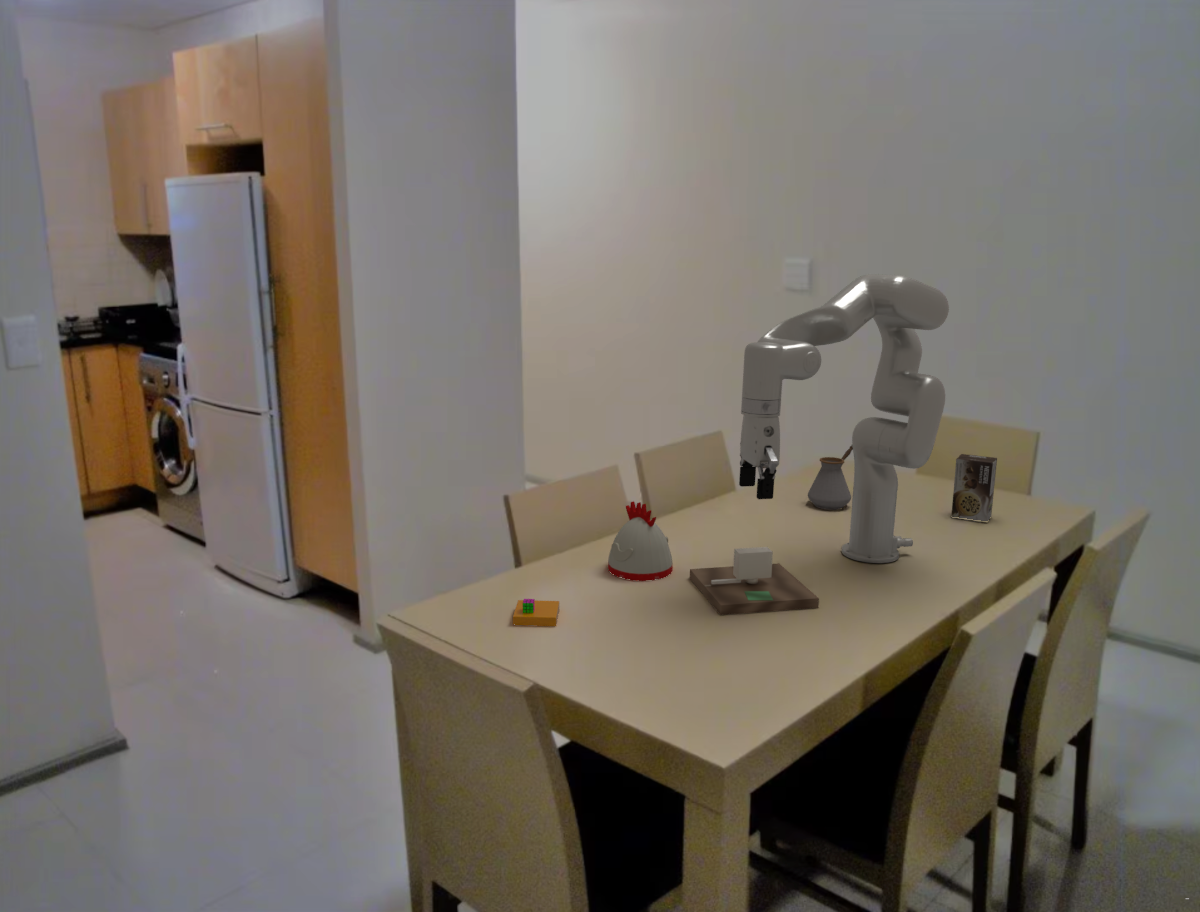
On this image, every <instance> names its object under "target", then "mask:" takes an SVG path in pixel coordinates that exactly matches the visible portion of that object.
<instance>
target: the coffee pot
mask: <svg viewBox="0 0 1200 912" xmlns="http://www.w3.org/2000/svg"><path fill="white" fill-rule="evenodd" d="M852 452H853V446H852V445H850V446H849V448H848V449H847V450H845V452H844V454H843V455H842V457H841V458H840V457H833V456H826V457H825V456H824V457H820V458H819V462H820V464H821V467H820V469H819V471H818V473H817V474H816V477H815V479H814V480H813V482H812V484H811V486H810V488H809V490H808V491H807V498H808V500H809V501H810V502H811V503H812V504H813V506H815V507H816V508H819V509H822V510H830V511H836V510H842V509H843V508H844V507H845V506H847V505H848V504H849V503H850V501H852V494H851V492H850V490H849V486H848V484H847V481H846V478H845V475H844V471H843V469H842V466H843V465H844V464H845V460H846V459H847V458H848V457H849V456H850V455H851V453H852ZM841 508H842V509H841Z"/></svg>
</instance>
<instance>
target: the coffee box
mask: <svg viewBox="0 0 1200 912" xmlns="http://www.w3.org/2000/svg"><path fill="white" fill-rule="evenodd" d="M997 462H998V458H997V457H990V456H986V455H984V456H983V455H975V454H974V455H973V454H965V453H961V454H960V455H959V456H957V458H956V459H955V470H954V482H953V483H954V484H953V494H952V505H951V515H950V517H951V516H952V517H959V518H967V519H973V520H981V521H988V520H989V519H990V517H991V518H992V516H993V515H992V512H993V503H994V494H995V493H994V492H995V485H996V484H995V483H996V473H997V472H996V471H997ZM990 520H991V519H990ZM990 520H989V521H990Z"/></svg>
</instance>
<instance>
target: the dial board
mask: <svg viewBox="0 0 1200 912" xmlns="http://www.w3.org/2000/svg"><path fill="white" fill-rule="evenodd" d="M733 567H734V565H732V566H717V567H715V566H714V567H703V568H702V567H701V568H689V579H690V581H691V582H693V583H692V584H694V586H696V587H697V589H698V591H700V593H701V594H702V595H703V596H704V597H705V599H706V600H708V603H710V605H712V607H713V608H714V609H715V610H716V612H717V613H718V614H719V615H720V616H725V615H737V614H738V615H741V614H742V615H743V614H749V613H750V614H753V613H767V612H779V611H790V610H791V611H792V610H794V611H795V610H808V609H819V603H820V597H818V596H817V595H816V594H815V593H814V592H813V591H811V590H810V589H809V588H808V587H807V586H806V585H804V584H803V583H802V582H801V580H799V579H798V578H797V577H796V576H794V575H793V574H792V573H791V572H790V571H789V570H788V569H786V568H785V567H784V566H783V565H782V564H781V563H772V574H771V578H758V583H756V584H750V583H747V582H746V579H742V580H741V582H740V583H725V584H712V583H711V580H721V579H736V577H735V576H734V575H733Z"/></svg>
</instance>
